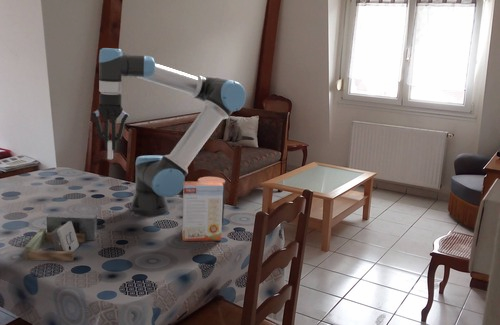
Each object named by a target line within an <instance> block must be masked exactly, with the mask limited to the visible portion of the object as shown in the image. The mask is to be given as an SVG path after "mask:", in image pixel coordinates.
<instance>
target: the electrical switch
mask: <svg viewBox="0 0 500 325" xmlns="http://www.w3.org/2000/svg"><path fill="white" fill-rule="evenodd" d="M51 237H52V240H53V241H52V243H53V246H54V249H55V251H76V249H78V248H79V245H80V244H79V242H78V240H77V237H76V234H75V231H74V227H73V224H72V222H71V221H68V222H67V223H66V224H64V225H61V226H59V227H58V228H57V229H55V230H54V231H53V232H52V233H51Z"/></svg>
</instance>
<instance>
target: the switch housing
mask: <svg viewBox="0 0 500 325" xmlns="http://www.w3.org/2000/svg"><path fill="white" fill-rule="evenodd" d="M97 217H98V214H86V213H85V214H84V213H81V214H80V213H63V212H62V213H59V212H58V213H57V212H50V213H49V214H48V215H46V232H48V233H52V232H53V231H54V230H55V229H57V228H58V227H59V226H61V225H64V224H66V223H67V222H68V221H71V222H72V224H73V227H74V231H75V233H77V234H79V233H81V234H85V241H95V240H96V238H97V237H98V218H97Z"/></svg>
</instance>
